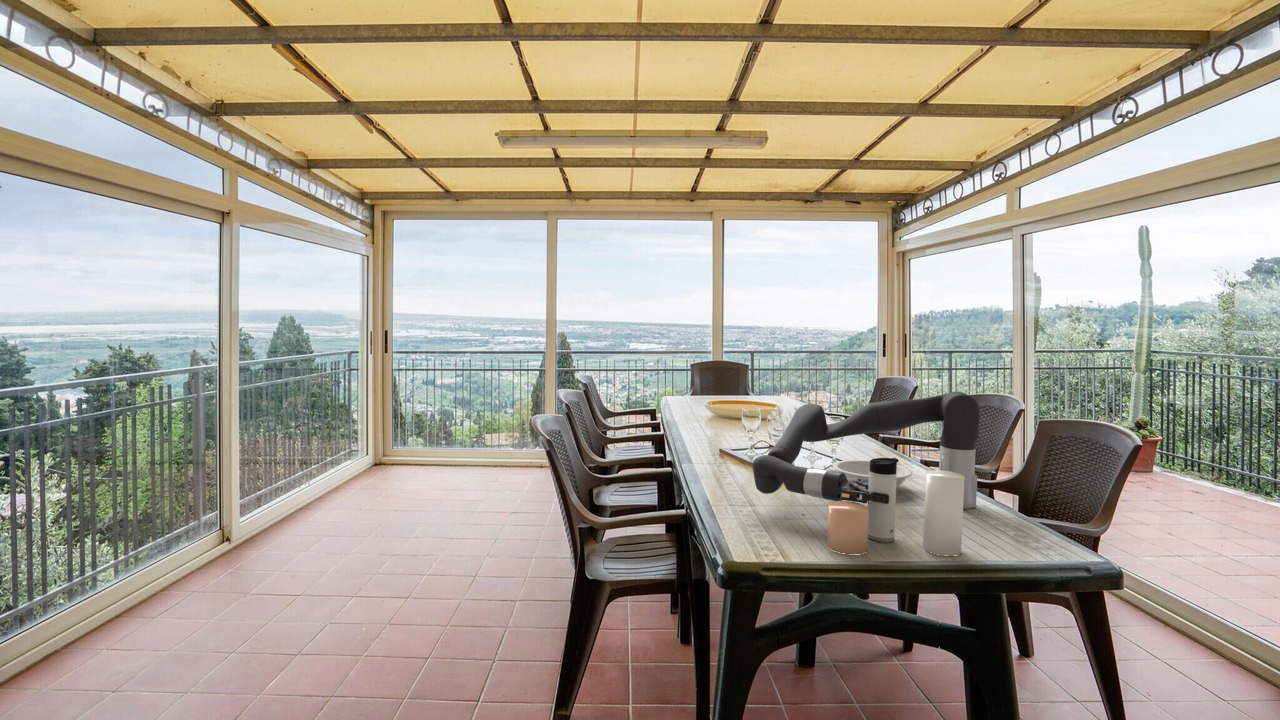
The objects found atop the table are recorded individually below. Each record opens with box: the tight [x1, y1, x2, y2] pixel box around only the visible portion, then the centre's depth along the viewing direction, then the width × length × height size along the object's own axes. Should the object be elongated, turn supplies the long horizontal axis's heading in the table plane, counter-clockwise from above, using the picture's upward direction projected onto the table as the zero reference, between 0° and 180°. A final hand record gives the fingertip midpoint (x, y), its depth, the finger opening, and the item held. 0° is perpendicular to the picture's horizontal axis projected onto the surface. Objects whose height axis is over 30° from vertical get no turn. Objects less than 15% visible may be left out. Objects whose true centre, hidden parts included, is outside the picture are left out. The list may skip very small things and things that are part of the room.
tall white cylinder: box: [922, 469, 964, 556], centre depth 138 cm, size 8×8×18 cm
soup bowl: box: [832, 459, 913, 488], centre depth 191 cm, size 24×24×7 cm
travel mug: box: [867, 457, 899, 543], centre depth 145 cm, size 6×7×20 cm
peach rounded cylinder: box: [826, 500, 869, 554], centre depth 138 cm, size 9×9×10 cm
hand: (892, 496), depth 143 cm, fingers closed on travel mug, 6 cm apart
